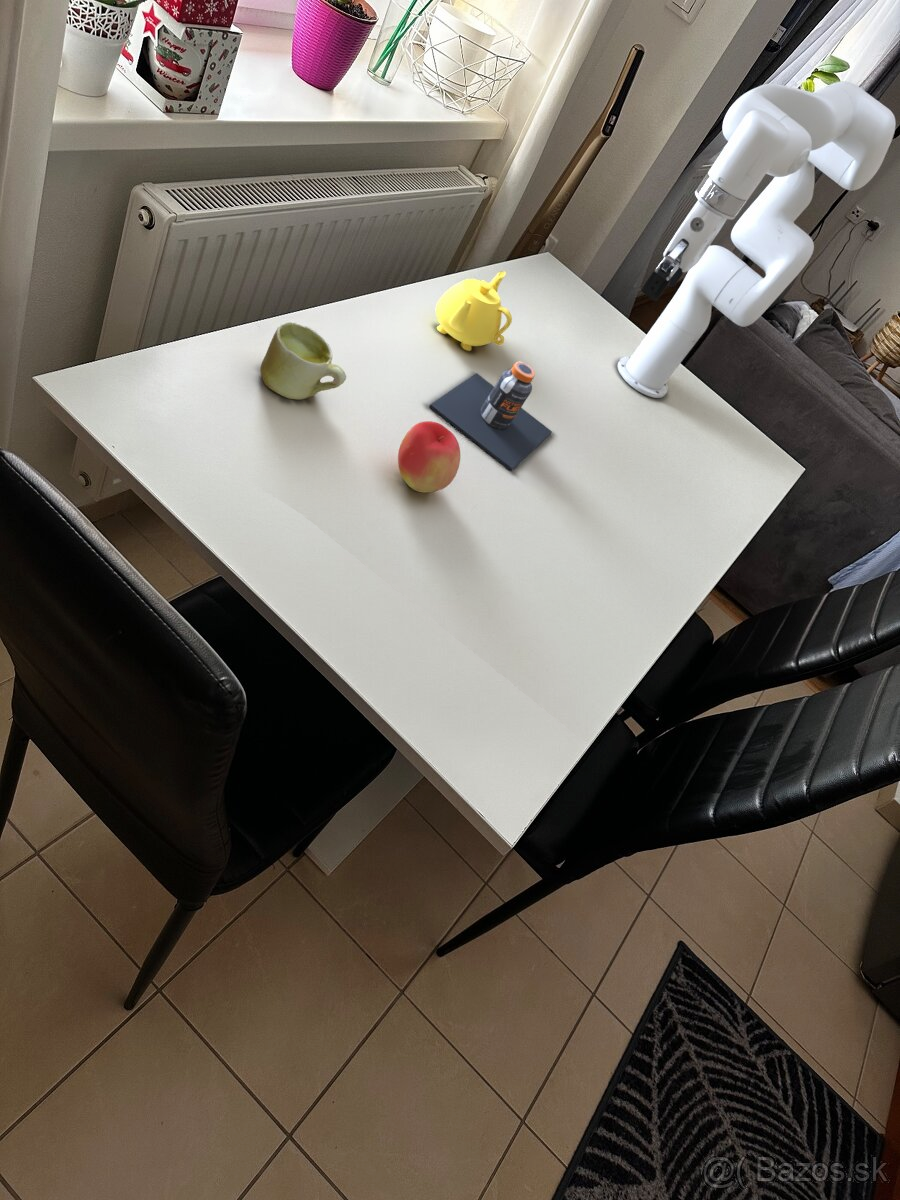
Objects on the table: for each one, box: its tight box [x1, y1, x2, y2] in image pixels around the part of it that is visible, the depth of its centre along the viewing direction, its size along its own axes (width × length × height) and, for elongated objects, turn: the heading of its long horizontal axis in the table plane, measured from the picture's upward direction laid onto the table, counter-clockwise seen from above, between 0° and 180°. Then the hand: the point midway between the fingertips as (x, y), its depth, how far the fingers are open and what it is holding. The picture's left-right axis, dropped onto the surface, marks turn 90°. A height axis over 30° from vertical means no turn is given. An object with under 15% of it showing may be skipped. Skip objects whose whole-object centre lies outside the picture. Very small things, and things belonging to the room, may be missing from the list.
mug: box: [260, 321, 347, 400], centre depth 131 cm, size 12×10×10 cm
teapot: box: [435, 270, 513, 352], centre depth 164 cm, size 20×15×12 cm
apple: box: [397, 420, 461, 493], centre depth 129 cm, size 10×10×10 cm
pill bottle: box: [481, 361, 536, 429], centre depth 149 cm, size 6×6×11 cm
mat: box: [428, 372, 553, 472], centre depth 153 cm, size 18×18×1 cm
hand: (657, 288), depth 146 cm, fingers open, 9 cm apart
